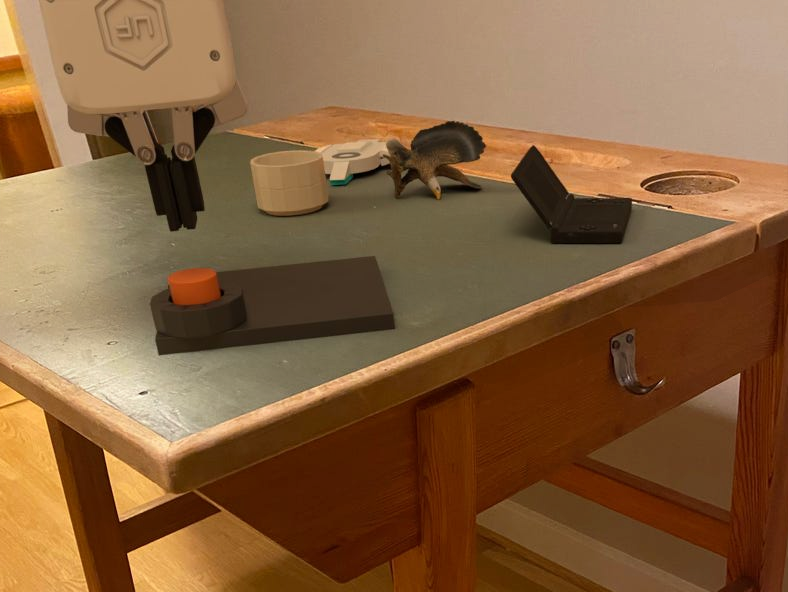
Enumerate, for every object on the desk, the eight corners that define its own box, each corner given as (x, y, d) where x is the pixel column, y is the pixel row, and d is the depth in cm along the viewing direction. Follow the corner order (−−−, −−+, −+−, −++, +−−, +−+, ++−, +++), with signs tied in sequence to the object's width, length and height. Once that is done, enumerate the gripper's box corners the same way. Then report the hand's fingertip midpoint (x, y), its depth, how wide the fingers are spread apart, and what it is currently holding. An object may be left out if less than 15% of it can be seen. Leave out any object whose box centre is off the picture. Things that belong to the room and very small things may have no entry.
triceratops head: (409, 198, 95) (496, 166, 96) (379, 123, 94) (467, 92, 95) (401, 226, 102) (482, 197, 103) (373, 157, 101) (455, 128, 103)
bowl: (258, 220, 96) (250, 169, 93) (258, 203, 101) (250, 154, 98) (330, 213, 96) (324, 162, 94) (327, 196, 102) (320, 147, 99)
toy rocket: (330, 153, 118) (327, 132, 117) (412, 151, 117) (410, 129, 116) (290, 187, 106) (287, 163, 104) (381, 185, 104) (379, 161, 103)
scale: (157, 359, 68) (146, 315, 66) (172, 292, 79) (163, 252, 78) (395, 333, 69) (391, 288, 68) (376, 270, 81) (372, 231, 79)
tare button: (172, 311, 68) (165, 284, 66) (175, 296, 70) (169, 270, 69) (220, 305, 68) (215, 279, 67) (222, 291, 70) (216, 265, 69)
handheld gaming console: (648, 220, 82) (572, 114, 79) (578, 279, 85) (501, 180, 82) (636, 205, 93) (568, 111, 89) (574, 259, 95) (505, 169, 92)
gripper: (-55, -119, 51) (57, 254, 62) (242, -140, 53) (301, 227, 64) (-22, -117, 57) (75, 223, 68) (244, -136, 59) (297, 199, 70)
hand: (184, 224), depth 66 cm, fingers closed
